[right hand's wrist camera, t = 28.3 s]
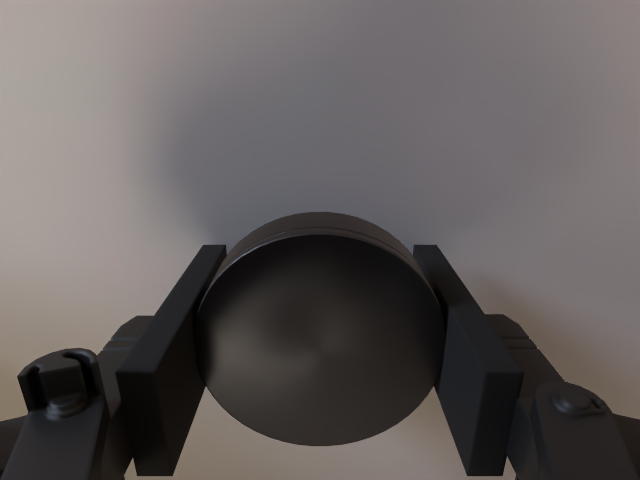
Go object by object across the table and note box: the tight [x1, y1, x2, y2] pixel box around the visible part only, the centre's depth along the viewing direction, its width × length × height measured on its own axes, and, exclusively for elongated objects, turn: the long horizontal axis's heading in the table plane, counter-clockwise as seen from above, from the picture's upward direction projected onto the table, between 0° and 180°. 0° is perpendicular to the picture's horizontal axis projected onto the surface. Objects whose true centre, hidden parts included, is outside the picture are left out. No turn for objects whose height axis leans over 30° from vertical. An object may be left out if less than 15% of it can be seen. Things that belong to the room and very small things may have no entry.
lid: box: [194, 212, 446, 446], centre depth 11 cm, size 6×6×2 cm
